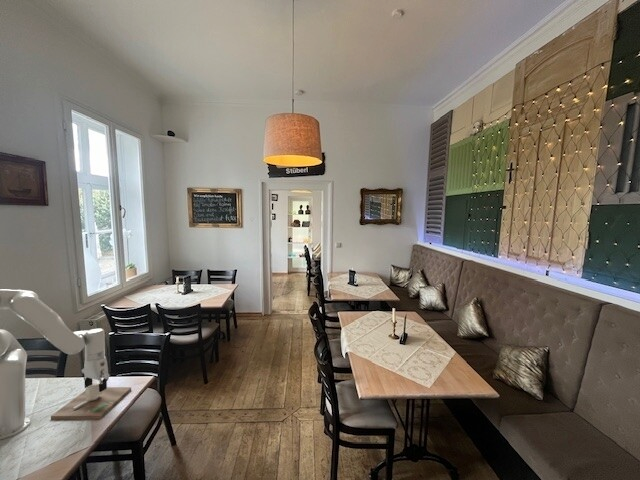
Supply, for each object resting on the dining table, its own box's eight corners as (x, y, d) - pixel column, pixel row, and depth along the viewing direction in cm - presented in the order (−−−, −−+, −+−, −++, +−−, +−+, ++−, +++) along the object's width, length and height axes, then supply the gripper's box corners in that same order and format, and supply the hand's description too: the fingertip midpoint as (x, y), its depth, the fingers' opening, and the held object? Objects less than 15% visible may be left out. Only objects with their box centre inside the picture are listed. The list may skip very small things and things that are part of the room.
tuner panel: (100, 419, 121) (100, 415, 121) (50, 419, 120) (50, 415, 120) (131, 390, 143) (131, 387, 143) (89, 389, 142) (89, 386, 142)
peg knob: (98, 394, 136) (98, 380, 135) (102, 395, 135) (103, 382, 134) (71, 408, 125) (71, 393, 124) (76, 410, 124) (76, 395, 123)
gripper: (116, 354, 133) (116, 387, 134) (90, 348, 138) (91, 380, 139) (99, 361, 126) (100, 396, 127) (73, 355, 130) (74, 389, 131)
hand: (95, 388), depth 133 cm, fingers open, 9 cm apart
